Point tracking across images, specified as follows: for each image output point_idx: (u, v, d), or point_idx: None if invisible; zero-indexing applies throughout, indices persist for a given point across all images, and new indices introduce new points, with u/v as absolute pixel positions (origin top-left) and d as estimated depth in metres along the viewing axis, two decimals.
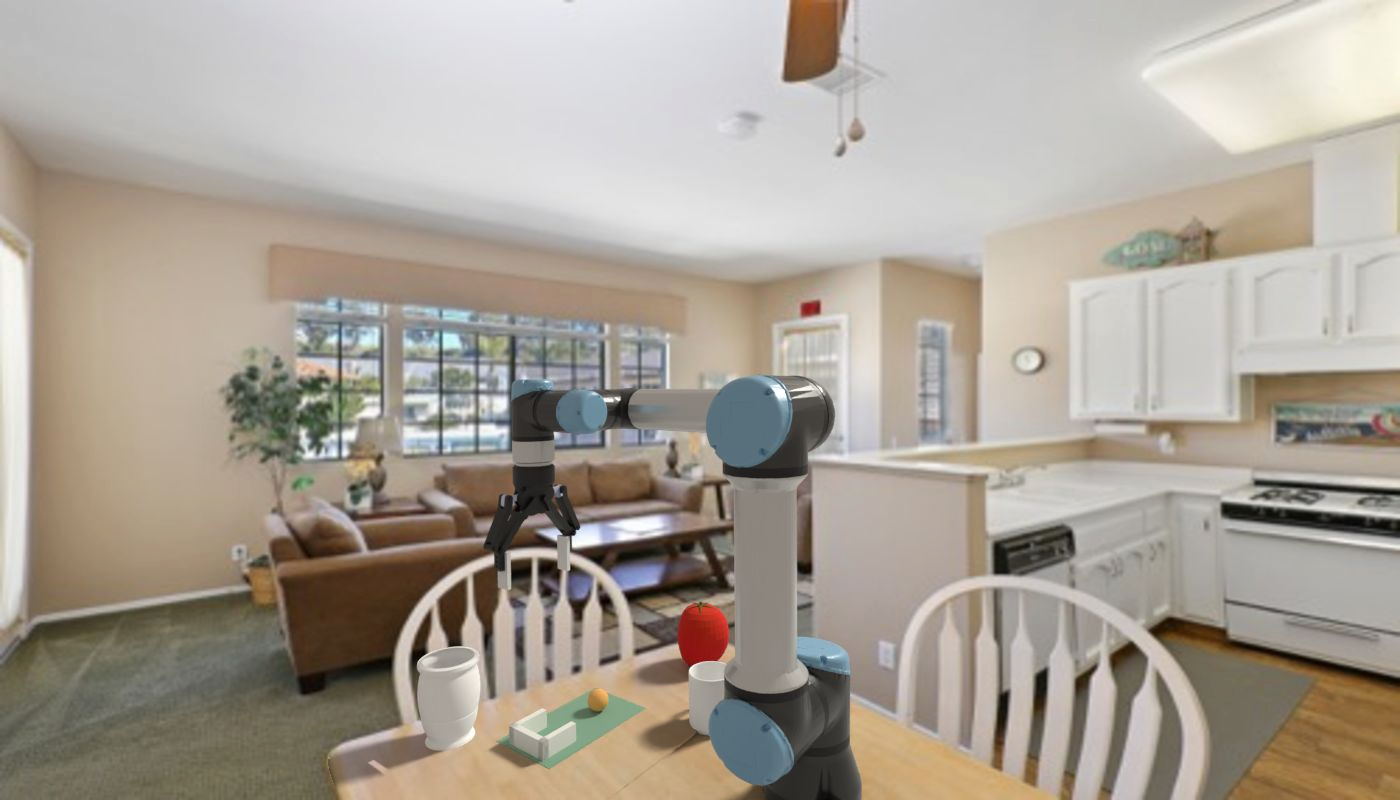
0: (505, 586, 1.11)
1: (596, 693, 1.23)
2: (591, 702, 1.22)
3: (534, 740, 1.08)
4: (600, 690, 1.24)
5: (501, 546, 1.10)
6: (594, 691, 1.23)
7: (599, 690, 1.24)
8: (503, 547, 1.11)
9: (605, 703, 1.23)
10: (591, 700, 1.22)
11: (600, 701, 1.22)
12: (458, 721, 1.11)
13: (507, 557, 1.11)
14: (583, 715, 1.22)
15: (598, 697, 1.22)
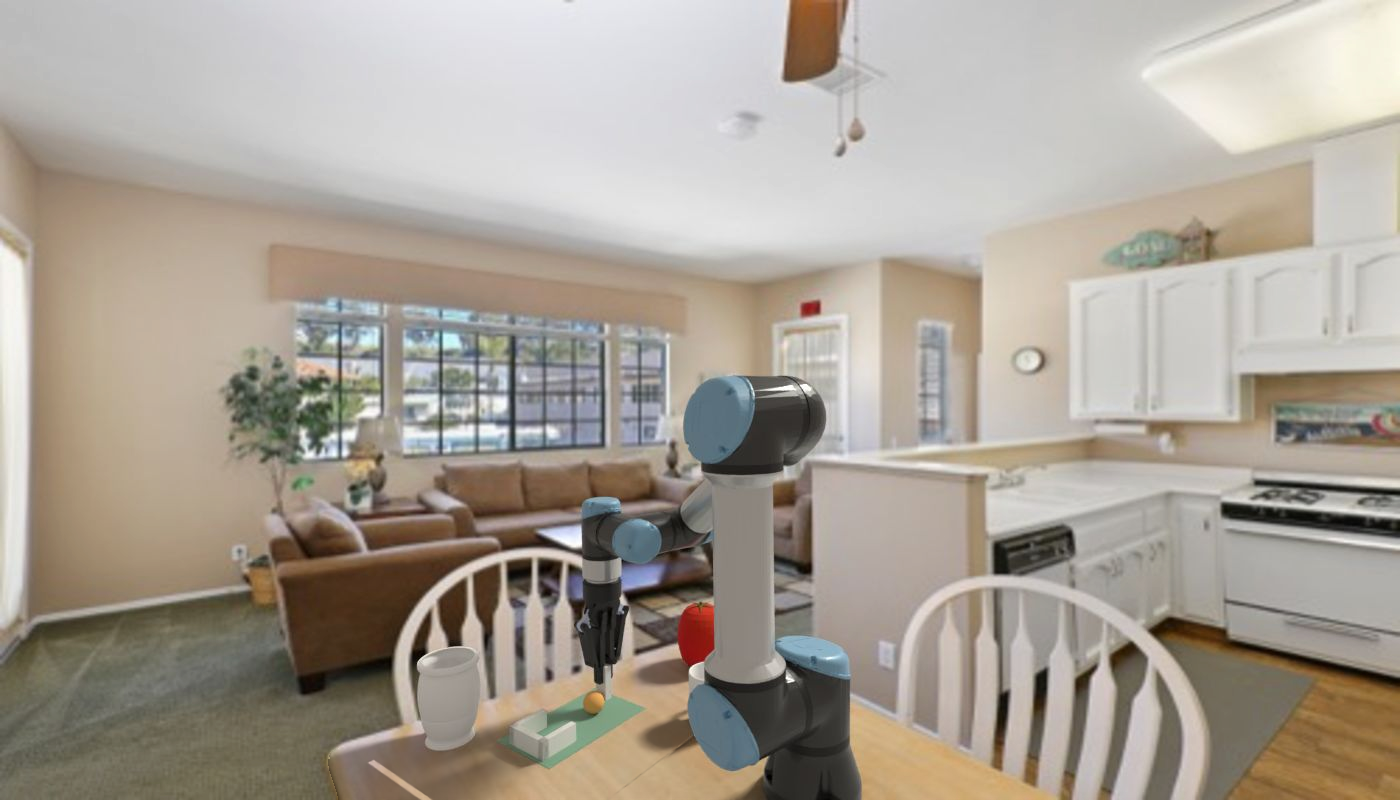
0: (603, 697, 1.24)
1: (589, 701, 1.21)
2: (587, 709, 1.21)
3: (534, 740, 1.08)
4: (592, 695, 1.22)
5: (599, 664, 1.23)
6: (586, 698, 1.22)
7: (591, 695, 1.22)
8: (601, 664, 1.23)
9: (601, 705, 1.22)
10: (586, 708, 1.21)
11: (595, 707, 1.21)
12: (458, 721, 1.11)
13: (605, 671, 1.24)
14: (583, 715, 1.22)
15: (591, 704, 1.21)
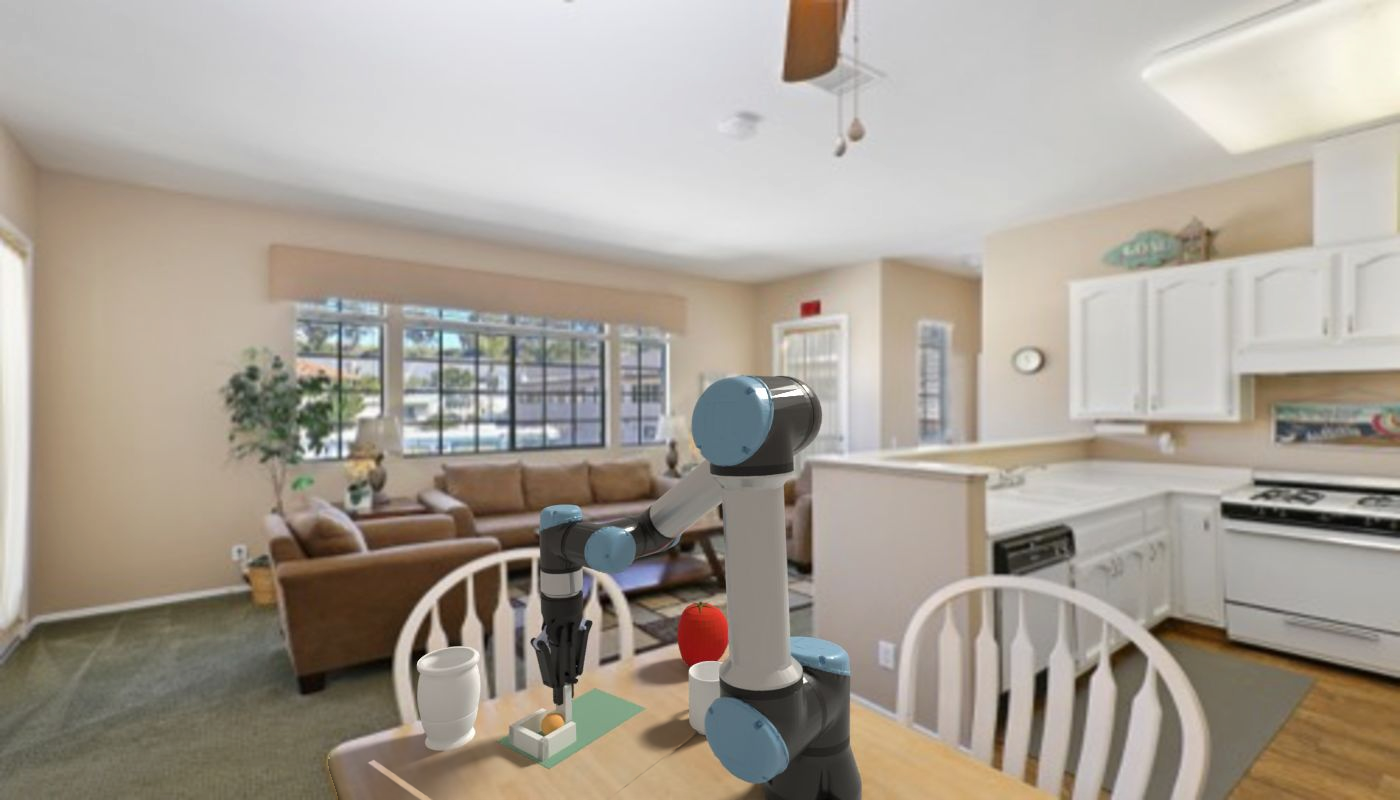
0: (563, 718, 1.16)
1: None
2: (554, 714, 1.15)
3: (534, 740, 1.08)
4: None
5: (558, 684, 1.15)
6: None
7: None
8: (561, 683, 1.15)
9: None
10: (555, 713, 1.15)
11: (560, 720, 1.14)
12: (458, 721, 1.11)
13: (565, 691, 1.16)
14: (583, 715, 1.22)
15: (561, 717, 1.15)
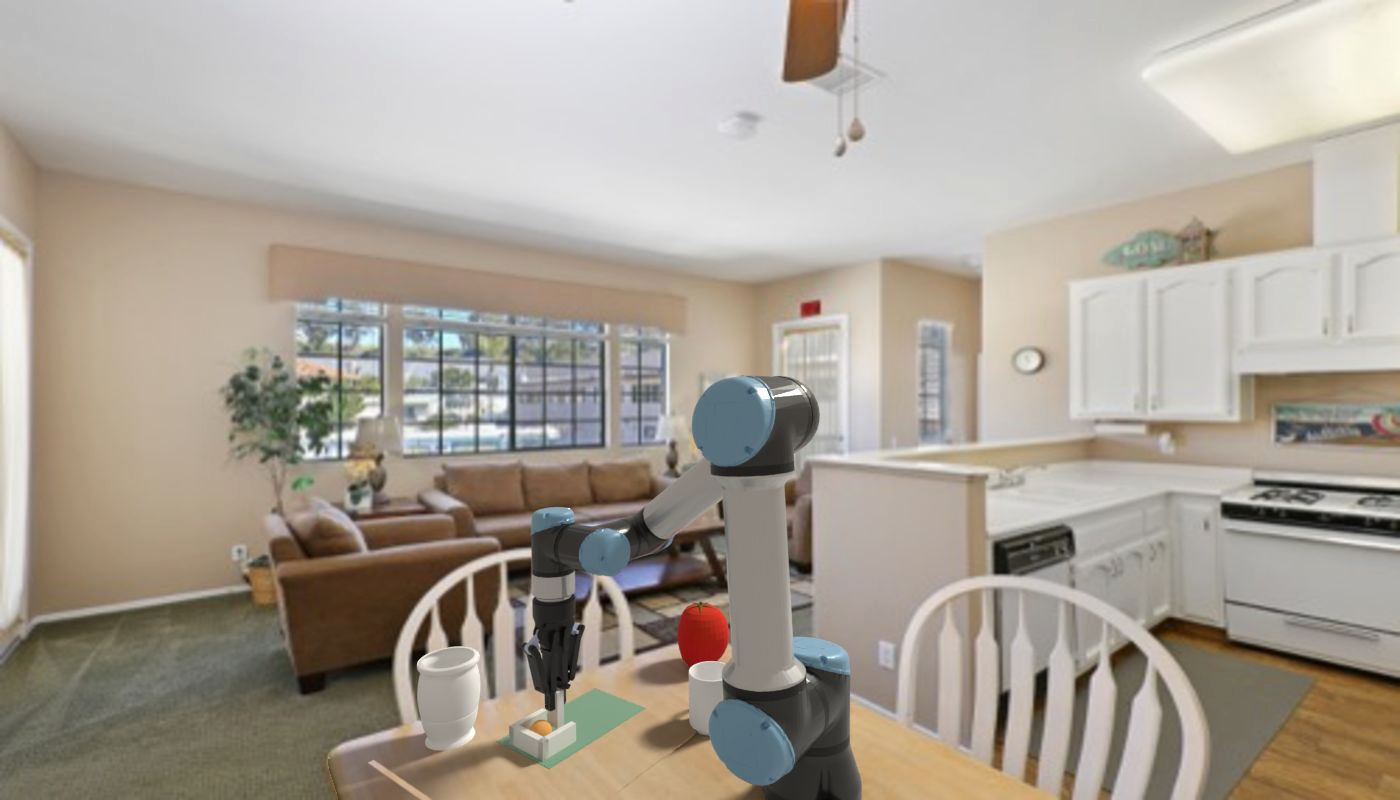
0: (555, 725, 1.14)
1: (538, 725, 1.11)
2: None
3: (534, 740, 1.08)
4: (543, 721, 1.12)
5: (550, 689, 1.13)
6: (536, 722, 1.12)
7: (542, 721, 1.12)
8: (552, 689, 1.13)
9: None
10: None
11: (542, 734, 1.11)
12: (458, 721, 1.11)
13: (557, 697, 1.14)
14: (583, 715, 1.22)
15: (540, 729, 1.11)
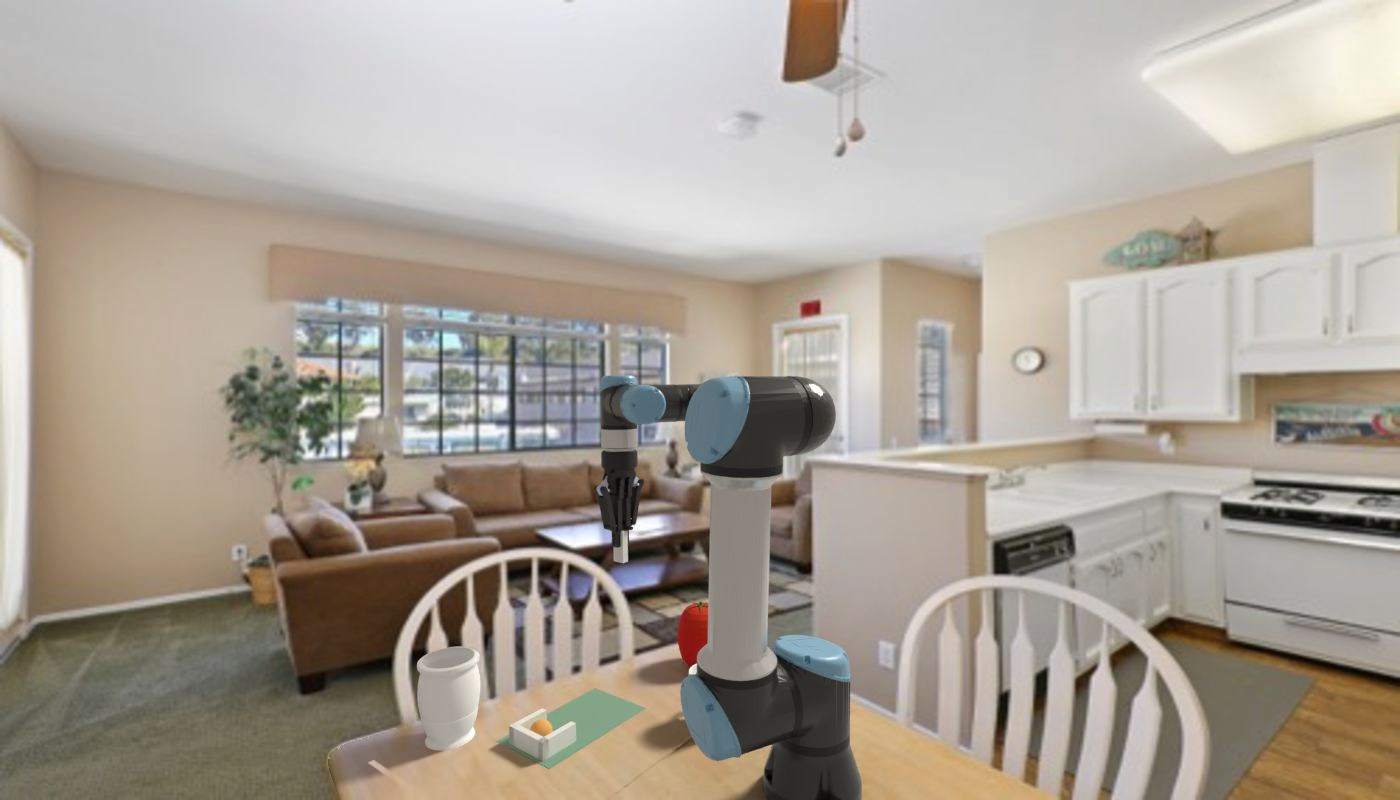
0: (621, 560, 1.33)
1: (540, 724, 1.12)
2: None
3: (534, 740, 1.08)
4: (544, 721, 1.13)
5: (617, 528, 1.32)
6: (538, 721, 1.12)
7: (543, 721, 1.13)
8: (619, 528, 1.32)
9: None
10: (533, 731, 1.11)
11: (543, 733, 1.11)
12: (458, 721, 1.11)
13: (622, 535, 1.33)
14: (583, 715, 1.22)
15: (541, 728, 1.11)
